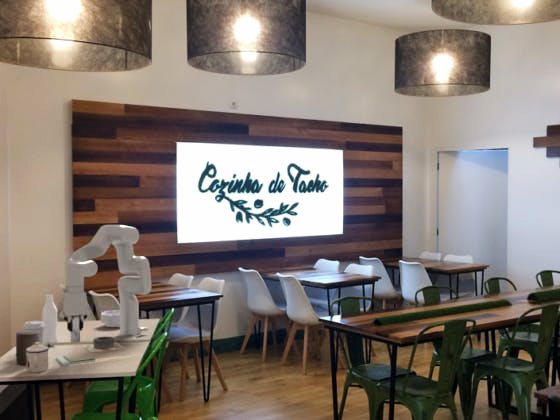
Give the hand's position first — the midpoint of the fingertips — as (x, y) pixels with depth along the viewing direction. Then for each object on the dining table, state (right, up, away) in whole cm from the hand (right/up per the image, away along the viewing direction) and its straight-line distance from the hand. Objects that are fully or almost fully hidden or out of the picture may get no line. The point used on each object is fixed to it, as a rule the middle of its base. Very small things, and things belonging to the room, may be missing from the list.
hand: (75, 330), depth 288 cm
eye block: (+7, -13, +20) cm, 25 cm away
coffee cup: (-23, -14, +11) cm, 29 cm away
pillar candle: (-20, -14, -3) cm, 24 cm away
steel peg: (0, -5, 0) cm, 5 cm away
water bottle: (-22, -13, +30) cm, 40 cm away
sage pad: (0, -14, 0) cm, 14 cm away
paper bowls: (-2, -12, +77) cm, 78 cm away
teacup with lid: (-11, -14, -16) cm, 24 cm away
